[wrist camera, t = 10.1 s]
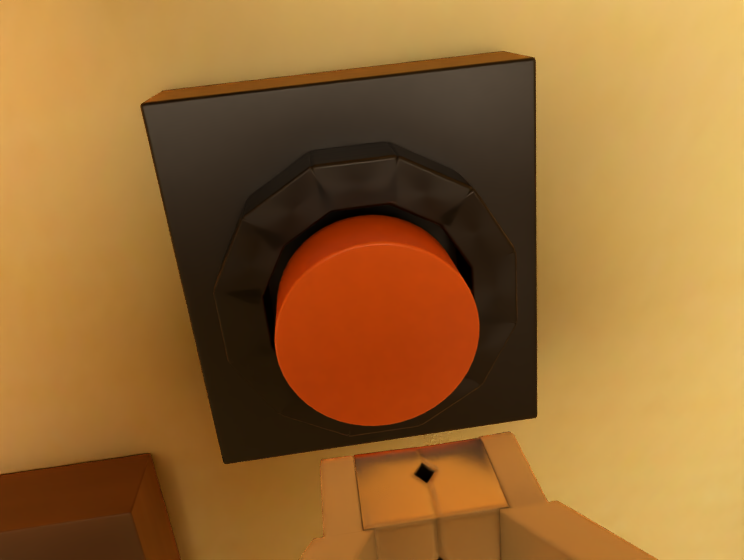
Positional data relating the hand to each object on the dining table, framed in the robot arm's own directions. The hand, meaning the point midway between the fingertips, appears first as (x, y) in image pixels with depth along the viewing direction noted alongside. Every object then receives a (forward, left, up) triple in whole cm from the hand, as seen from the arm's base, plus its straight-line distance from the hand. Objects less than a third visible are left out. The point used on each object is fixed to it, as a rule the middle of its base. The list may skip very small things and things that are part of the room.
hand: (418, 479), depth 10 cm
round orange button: (0, 0, -7) cm, 7 cm away
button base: (0, 0, -12) cm, 12 cm away
